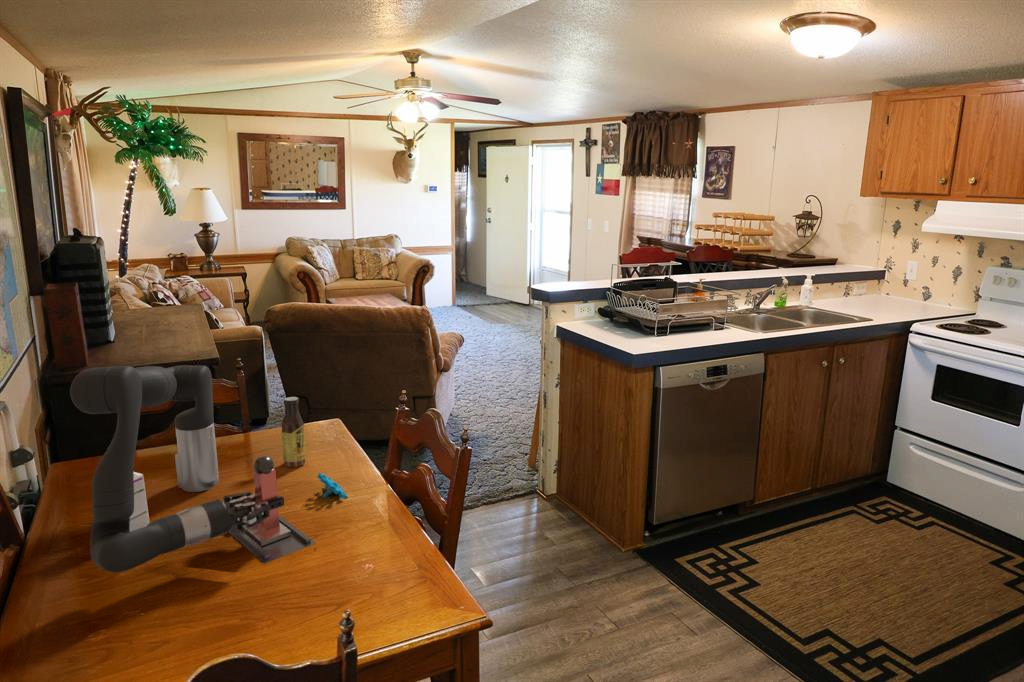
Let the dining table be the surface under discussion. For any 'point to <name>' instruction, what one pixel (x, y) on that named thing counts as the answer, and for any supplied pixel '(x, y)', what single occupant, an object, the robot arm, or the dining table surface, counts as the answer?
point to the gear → (331, 486)
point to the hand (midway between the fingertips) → (278, 497)
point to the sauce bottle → (293, 434)
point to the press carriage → (265, 491)
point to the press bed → (274, 548)
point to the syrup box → (139, 504)
